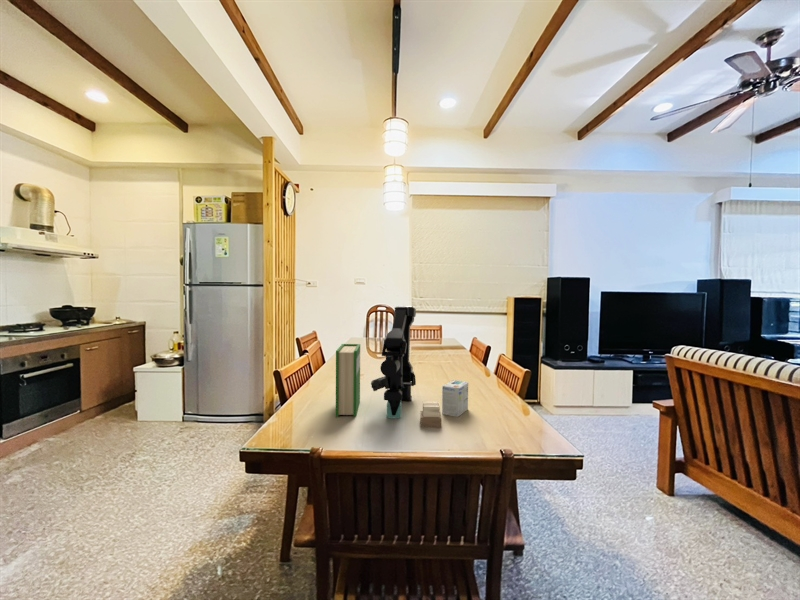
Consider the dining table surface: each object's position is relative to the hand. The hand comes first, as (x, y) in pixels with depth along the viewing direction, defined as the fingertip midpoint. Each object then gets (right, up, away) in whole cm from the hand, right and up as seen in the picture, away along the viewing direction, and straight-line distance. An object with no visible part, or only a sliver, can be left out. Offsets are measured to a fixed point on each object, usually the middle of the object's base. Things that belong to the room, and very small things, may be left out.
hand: (394, 412), depth 132 cm
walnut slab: (+13, -2, -8) cm, 15 cm away
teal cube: (0, -1, 0) cm, 1 cm away
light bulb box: (+23, -1, +5) cm, 24 cm away
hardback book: (-18, -1, +7) cm, 19 cm away
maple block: (+13, +2, -8) cm, 15 cm away
